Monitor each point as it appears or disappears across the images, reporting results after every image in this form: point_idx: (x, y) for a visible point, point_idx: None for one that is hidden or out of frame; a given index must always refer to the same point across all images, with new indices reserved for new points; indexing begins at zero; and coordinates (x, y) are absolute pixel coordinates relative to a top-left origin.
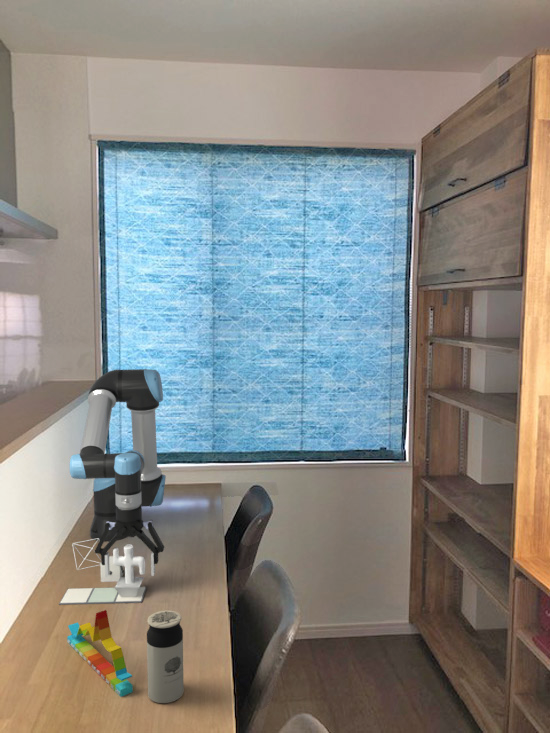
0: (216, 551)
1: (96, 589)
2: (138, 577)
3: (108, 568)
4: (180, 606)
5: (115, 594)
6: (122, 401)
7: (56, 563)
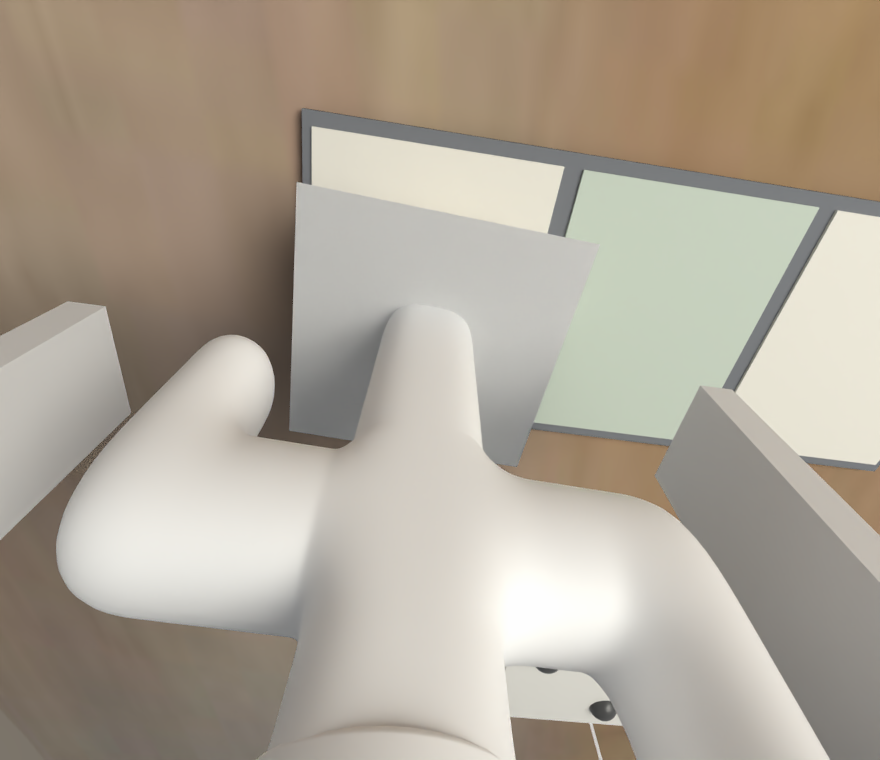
0: (4, 697)
1: None
2: (342, 433)
3: (721, 490)
4: None
5: None
6: None
7: None
